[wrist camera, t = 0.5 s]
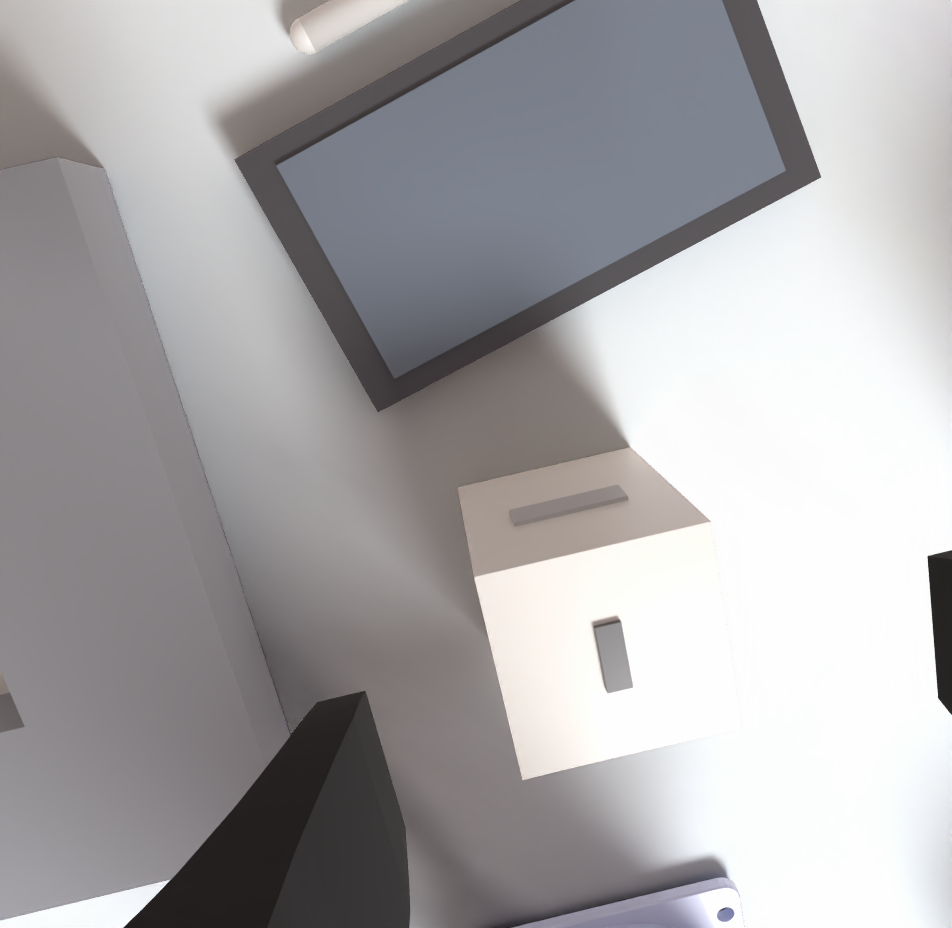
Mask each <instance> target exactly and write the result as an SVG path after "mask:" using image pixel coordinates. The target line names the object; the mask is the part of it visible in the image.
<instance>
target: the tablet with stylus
mask: <svg viewBox="0 0 952 928" xmlns="http://www.w3.org/2000/svg"><path fill="white" fill-rule="evenodd" d="M407 1H409V0H329V1H327V2H326V3H324V4H322V5H320V6H318V7H317V8H315V9H313V10H311V11H310V12H308V13H306V14H304V15H303V16H301V17H299V18H297V19H296V20H295V21H294V22H293V24H292V25H291V28H290V39H291V42H292V44H293V46H294V47H295V48H296V49H297V50H298V51H299V52H301V53H303V54H308V55H310V54H314V53H316V52H318V51H320V50H322V49H323V48H325V47H327V46H329V45H331V44H332V43H334V42H336V41H338V40H340V39H341V38H343V37H345V36H347V35H348V34H350V33H352V32H354V31H356V30H357V29H359V28H361V27H363V26H365V25H366V24H368V23H370V22H372V21H373V20H375V19H377V18H379V17H381V16H382V15H384V14H386V13H388V12H389V11H391V10H393V9H395V8H397V7H398V6H400V5H402V4H404V3H406V2H407ZM235 162H236V163H237V165H238V167H239V169H240V170H241V172H242V174H243V176H244V177H245V179H246V181H247V183H248V184H249V186H250V188H251V190H252V191H253V193H254V195H255V197H256V199H257V200H258V202H259V204H260V206H261V207H262V209H263V211H264V213H265V214H266V216H267V218H268V220H269V221H270V223H271V225H272V227H273V228H274V230H275V232H276V234H277V235H278V237H279V239H280V241H281V242H282V244H283V246H284V248H285V250H286V251H287V253H288V255H289V257H290V258H291V260H292V262H293V264H294V265H295V267H296V269H297V271H298V272H299V274H300V276H301V278H302V279H303V281H304V283H305V285H306V286H307V288H308V290H309V292H310V294H311V295H312V297H313V299H314V301H315V302H316V304H317V306H318V308H319V309H320V311H321V313H322V315H323V316H324V318H325V320H326V322H327V323H328V325H329V327H330V329H331V330H332V332H333V334H334V336H335V337H336V339H337V341H338V343H339V345H340V346H341V348H342V350H343V352H344V353H345V355H346V357H347V359H348V360H349V362H350V364H351V366H352V367H353V369H354V371H355V373H356V374H357V376H358V378H359V380H360V381H361V383H362V385H363V387H364V388H365V390H366V392H367V394H368V396H369V397H370V399H371V401H372V403H373V404H374V406H375V408H376V410H377V411H378V412H379V411H381V410H383V409H385V408H387V407H389V406H390V405H392V404H394V403H396V402H398V401H400V400H402V399H404V398H406V397H407V396H409V395H411V394H413V393H415V392H417V391H419V390H421V389H423V388H424V387H426V386H428V385H430V384H432V383H434V382H436V381H438V380H440V379H441V378H443V377H445V376H447V375H449V374H451V373H453V372H455V371H457V370H458V369H460V368H462V367H464V366H466V365H468V364H470V363H472V362H473V361H475V360H477V359H479V358H481V357H483V356H485V355H487V354H489V353H490V352H492V351H494V350H496V349H498V348H500V347H502V346H504V345H506V344H507V343H509V342H511V341H513V340H515V339H517V338H519V337H521V336H523V335H524V334H526V333H528V332H530V331H532V330H534V329H536V328H538V327H540V326H541V325H543V324H545V323H547V322H549V321H551V320H553V319H555V318H557V317H558V316H560V315H562V314H564V313H566V312H568V311H570V310H572V309H573V308H575V307H577V306H579V305H581V304H583V303H585V302H587V301H589V300H590V299H592V298H594V297H596V296H598V295H600V294H602V293H604V292H606V291H607V290H609V289H611V288H613V287H615V286H617V285H619V284H621V283H623V282H624V281H626V280H628V279H630V278H632V277H634V276H636V275H638V274H640V273H641V272H643V271H645V270H647V269H649V268H651V267H653V266H655V265H657V264H658V263H660V262H662V261H664V260H666V259H668V258H670V257H672V256H674V255H675V254H677V253H679V252H681V251H683V250H685V249H687V248H689V247H690V246H692V245H694V244H696V243H698V242H700V241H702V240H704V239H706V238H707V237H709V236H711V235H713V234H715V233H717V232H719V231H721V230H723V229H724V228H726V227H728V226H730V225H732V224H734V223H736V222H738V221H740V220H741V219H743V218H745V217H747V216H749V215H751V214H753V213H755V212H757V211H758V210H760V209H762V208H764V207H766V206H768V205H770V204H772V203H774V202H775V201H777V200H779V199H781V198H783V197H785V196H787V195H789V194H791V193H792V192H794V191H796V190H798V189H800V188H802V187H804V186H806V185H807V184H809V183H811V182H813V181H815V180H817V179H819V178H821V176H820V173H819V170H818V167H817V165H816V162H815V159H814V156H813V154H812V151H811V148H810V145H809V143H808V140H807V137H806V134H805V132H804V129H803V126H802V123H801V121H800V118H799V115H798V112H797V110H796V107H795V104H794V101H793V99H792V96H791V93H790V90H789V88H788V85H787V82H786V79H785V77H784V74H783V71H782V68H781V66H780V63H779V60H778V57H777V55H776V52H775V49H774V46H773V44H772V41H771V38H770V35H769V33H768V30H767V27H766V24H765V22H764V19H763V16H762V13H761V11H760V8H759V5H758V2H757V0H521V1H519V2H517V3H515V4H514V5H512V6H510V7H508V8H506V9H505V10H503V11H501V12H499V13H497V14H496V15H494V16H492V17H490V18H488V19H487V20H485V21H483V22H481V23H479V24H478V25H476V26H474V27H472V28H470V29H469V30H467V31H465V32H463V33H461V34H460V35H458V36H456V37H454V38H452V39H451V40H449V41H447V42H445V43H443V44H442V45H440V46H438V47H436V48H434V49H433V50H431V51H429V52H427V53H425V54H424V55H422V56H420V57H418V58H416V59H415V60H413V61H411V62H409V63H407V64H406V65H404V66H402V67H400V68H398V69H397V70H395V71H393V72H391V73H389V74H388V75H386V76H384V77H382V78H380V79H379V80H377V81H375V82H373V83H371V84H370V85H368V86H366V87H364V88H362V89H361V90H359V91H357V92H355V93H353V94H352V95H350V96H348V97H346V98H344V99H343V100H341V101H339V102H337V103H335V104H334V105H332V106H330V107H328V108H326V109H325V110H323V111H321V112H319V113H317V114H316V115H314V116H312V117H310V118H308V119H307V120H305V121H303V122H301V123H299V124H298V125H296V126H294V127H292V128H290V129H289V130H287V131H285V132H283V133H281V134H280V135H278V136H276V137H274V138H272V139H271V140H269V141H267V142H265V143H263V144H262V145H260V146H258V147H256V148H254V149H253V150H251V151H249V152H247V153H245V154H244V155H242V156H240V157H238V158H236V159H235Z"/></svg>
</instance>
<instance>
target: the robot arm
mask: <svg viewBox="0 0 952 928" xmlns="http://www.w3.org/2000/svg"><path fill="white" fill-rule="evenodd" d="M928 568H929V582H930V595H931V608H932V622H933V635H934V648H935V661H936V675H937V688H938V699H939V700H940V701H941V702H942V703H943V705H944V706H945V707H946V708H947V710H948V711H949V712H950V713H951V714H952V550H951V551H947V552H943V553H939V554H934V555H930V556H928ZM724 907H727V908H726V909H725V910H723V911H719V910H720V909H722V908H724ZM409 920H410V895H409V875H408V860H407V845H406V830H405V825H404V821H403V818H402V814H401V811H400V808H399V804H398V801H397V797H396V794H395V791H394V787H393V784H392V780H391V777H390V773H389V770H388V767H387V763H386V760H385V756H384V753H383V750H382V746H381V743H380V739H379V736H378V732H377V729H376V726H375V722H374V719H373V715H372V712H371V709H370V705H369V702H368V698H367V695H366V691H363V692H358V693H354V694H350V695H346V696H342V697H337V698H333V699H329V700H325V701H321V702H317V703H316V705H315V706H314V707H313V708H312V709H311V710H310V711H309V713H308V714H307V715H306V716H305V718H304V719H303V720H302V721H301V723H300V724H299V725H298V727H297V728H296V729H295V731H294V732H293V733H292V734H291V736H290V737H289V738H288V740H287V741H286V742H285V744H284V745H283V746H282V748H281V749H280V750H279V751H278V753H277V754H276V755H275V757H274V758H273V759H272V761H271V762H270V763H269V764H268V766H267V767H266V768H265V769H264V771H263V772H262V773H261V775H260V776H259V777H258V778H257V780H256V781H255V782H254V783H253V785H252V786H251V787H250V788H249V790H248V791H247V792H246V794H245V795H244V796H243V797H242V799H241V800H240V801H239V802H238V804H237V805H236V806H235V807H234V808H233V810H232V811H231V812H230V813H229V814H228V815H227V816H226V818H225V819H224V820H223V821H222V822H221V823H220V825H219V826H218V827H217V828H216V829H215V830H214V831H213V833H212V834H211V835H210V836H209V837H208V838H207V839H206V841H205V842H204V843H203V844H202V845H201V846H200V847H199V849H198V850H197V851H196V852H195V853H194V854H193V856H192V857H191V858H190V859H189V860H188V861H187V862H186V864H185V865H184V866H183V867H182V868H181V869H180V870H179V872H178V873H177V874H176V875H175V876H174V877H173V878H172V879H171V880H170V881H169V882H168V883H167V884H166V885H165V887H164V888H163V889H162V890H161V891H160V892H159V893H158V894H157V895H156V896H155V897H154V898H153V899H152V900H151V901H150V902H149V903H148V904H147V905H146V906H145V907H144V908H143V909H142V910H141V911H140V912H139V913H138V914H137V915H136V916H135V917H134V918H133V919H132V920H131V921H130V922H129V923H128V924H127V925H126V926H125V927H124V928H409ZM512 928H745V926H744V920H743V914H742V907H741V901H740V895H739V893H738V890H737V888H736V886H735V884H734V883H733V882H732V881H731V880H730V879H728V878H724V877H720V878H714V879H710V880H705V881H701V882H697V883H693V884H689V885H685V886H681V887H677V888H672V889H668V890H664V891H660V892H656V893H652V894H648V895H644V896H640V897H635V898H631V899H627V900H623V901H619V902H615V903H611V904H607V905H603V906H598V907H594V908H590V909H586V910H582V911H578V912H574V913H570V914H566V915H561V916H557V917H553V918H549V919H545V920H541V921H537V922H533V923H528V924H524V925H520V926H516V927H512Z"/></svg>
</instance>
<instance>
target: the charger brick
mask: <svg viewBox="0 0 952 928" xmlns="http://www.w3.org/2000/svg"><path fill="white" fill-rule="evenodd" d="M457 488H458V494H459V499H460V505H461V510H462V515H463V521H464V526H465V531H466V537H467V542H468V548H469V553H470V558H471V564H472V569H473V574H474V579H475V583H476V588H477V592H478V596H479V600H480V604H481V609H482V613H483V617H484V621H485V625H486V630H487V634H488V638H489V642H490V646H491V650H492V655H493V659H494V663H495V667H496V671H497V676H498V680H499V684H500V688H501V692H502V697H503V701H504V705H505V709H506V713H507V718H508V722H509V726H510V730H511V734H512V738H513V743H514V747H515V751H516V755H517V759H518V764H519V768H520V772H521V776H522V780H525V779H529V778H533V777H537V776H542V775H546V774H550V773H554V772H558V771H562V770H567V769H571V768H575V767H579V766H583V765H588V764H592V763H596V762H600V761H604V760H608V759H613V758H617V757H621V756H625V755H629V754H633V753H638V752H642V751H646V750H650V749H654V748H659V747H663V746H667V745H671V744H675V743H679V742H684V741H688V740H692V739H696V738H700V737H705V736H709V735H713V734H717V733H721V732H725V731H730V730H734V729H738V728H741V724H740V717H739V711H738V704H737V697H736V690H735V683H734V676H733V669H732V663H731V656H730V649H729V642H728V635H727V628H726V621H725V614H724V608H723V601H722V594H721V587H720V580H719V573H718V566H717V560H716V553H715V546H714V539H713V532H712V525H711V521H710V520H709V519H708V518H707V517H706V516H704V515H703V514H702V513H701V512H700V511H699V510H698V509H697V508H696V507H695V506H694V505H693V504H691V503H690V502H689V501H688V500H687V499H686V498H685V497H684V496H683V495H682V494H681V493H680V492H678V491H677V490H676V489H675V488H674V487H673V486H672V485H671V484H670V483H669V482H668V481H667V480H665V479H664V478H663V477H662V476H661V475H660V474H659V473H658V472H657V471H656V470H655V469H654V468H652V467H651V466H650V465H649V464H648V463H647V462H646V461H645V460H644V459H643V458H642V457H641V456H639V455H638V454H637V453H636V452H635V451H634V450H633V449H632V448H631V447H628V448H624V449H620V450H615V451H611V452H607V453H602V454H598V455H594V456H590V457H585V458H581V459H577V460H572V461H568V462H564V463H560V464H555V465H551V466H547V467H542V468H538V469H534V470H530V471H525V472H521V473H517V474H512V475H508V476H504V477H500V478H495V479H491V480H487V481H482V482H478V483H474V484H470V485H465V486H461V487H457Z"/></svg>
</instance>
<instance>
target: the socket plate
mask: <svg viewBox="0 0 952 928" xmlns="http://www.w3.org/2000/svg"><path fill="white" fill-rule="evenodd" d="M289 737H290V733H289V729H288V726H287V723H286V720H285V717H284V714H283V711H282V708H281V705H280V702H279V699H278V696H277V693H276V690H275V687H274V684H273V681H272V678H271V675H270V672H269V668H268V665H267V662H266V659H265V656H264V653H263V650H262V647H261V644H260V641H259V638H258V635H257V632H256V629H255V626H254V623H253V620H252V617H251V614H250V611H249V608H248V604H247V601H246V598H245V595H244V592H243V589H242V586H241V583H240V580H239V577H238V574H237V571H236V568H235V565H234V562H233V559H232V556H231V553H230V550H229V547H228V543H227V540H226V537H225V534H224V531H223V528H222V525H221V522H220V519H219V516H218V513H217V510H216V507H215V504H214V501H213V498H212V495H211V492H210V489H209V486H208V483H207V479H206V476H205V473H204V470H203V467H202V464H201V461H200V458H199V455H198V452H197V449H196V446H195V443H194V440H193V437H192V434H191V431H190V428H189V425H188V422H187V418H186V415H185V412H184V409H183V406H182V403H181V400H180V397H179V394H178V391H177V388H176V385H175V382H174V379H173V376H172V373H171V370H170V367H169V364H168V361H167V357H166V354H165V351H164V348H163V345H162V342H161V339H160V336H159V333H158V330H157V327H156V324H155V321H154V318H153V315H152V312H151V309H150V306H149V303H148V300H147V297H146V293H145V290H144V287H143V284H142V281H141V278H140V275H139V272H138V269H137V266H136V263H135V260H134V257H133V254H132V251H131V248H130V245H129V242H128V239H127V236H126V232H125V229H124V226H123V223H122V220H121V217H120V214H119V211H118V208H117V205H116V202H115V199H114V196H113V193H112V190H111V187H110V184H109V181H108V178H107V175H106V171H105V169H103V168H99V167H95V166H91V165H87V164H83V163H79V162H75V161H71V160H67V159H63V158H59V157H54V158H50V159H45V160H41V161H36V162H32V163H28V164H23V165H19V166H14V167H10V168H5V169H1V170H0V920H4V919H8V918H12V917H16V916H20V915H25V914H29V913H33V912H37V911H41V910H45V909H50V908H54V907H58V906H62V905H66V904H70V903H75V902H79V901H83V900H87V899H91V898H95V897H100V896H104V895H108V894H112V893H116V892H120V891H125V890H129V889H133V888H137V887H141V886H145V885H149V884H154V883H158V882H162V881H166V880H170V879H172V878H173V877H174V876H175V875H176V874H177V873H178V872H179V870H180V869H181V868H182V867H183V866H184V865H185V864H186V862H187V861H188V860H189V859H190V858H191V857H192V856H193V854H194V853H195V852H196V851H197V850H198V849H199V847H200V846H201V845H202V844H203V843H204V842H205V841H206V839H207V838H208V837H209V836H210V835H211V834H212V833H213V831H214V830H215V829H216V828H217V827H218V826H219V825H220V823H221V822H222V821H223V820H224V819H225V818H226V816H227V815H228V814H229V813H230V812H231V811H232V810H233V808H234V807H235V806H236V805H237V804H238V802H239V801H240V800H241V799H242V797H243V796H244V795H245V794H246V792H247V791H248V790H249V788H250V787H251V786H252V785H253V783H254V782H255V781H256V780H257V778H258V777H259V776H260V775H261V773H262V772H263V771H264V769H265V768H266V767H267V766H268V764H269V763H270V762H271V761H272V759H273V758H274V757H275V755H276V754H277V753H278V751H279V750H280V749H281V748H282V746H283V745H284V744H285V742H286V741H287V740H288V738H289Z"/></svg>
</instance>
